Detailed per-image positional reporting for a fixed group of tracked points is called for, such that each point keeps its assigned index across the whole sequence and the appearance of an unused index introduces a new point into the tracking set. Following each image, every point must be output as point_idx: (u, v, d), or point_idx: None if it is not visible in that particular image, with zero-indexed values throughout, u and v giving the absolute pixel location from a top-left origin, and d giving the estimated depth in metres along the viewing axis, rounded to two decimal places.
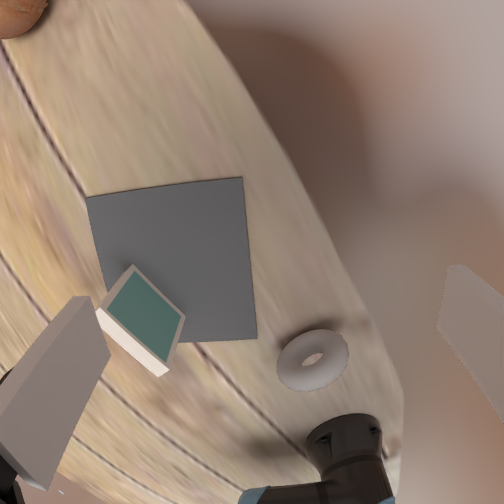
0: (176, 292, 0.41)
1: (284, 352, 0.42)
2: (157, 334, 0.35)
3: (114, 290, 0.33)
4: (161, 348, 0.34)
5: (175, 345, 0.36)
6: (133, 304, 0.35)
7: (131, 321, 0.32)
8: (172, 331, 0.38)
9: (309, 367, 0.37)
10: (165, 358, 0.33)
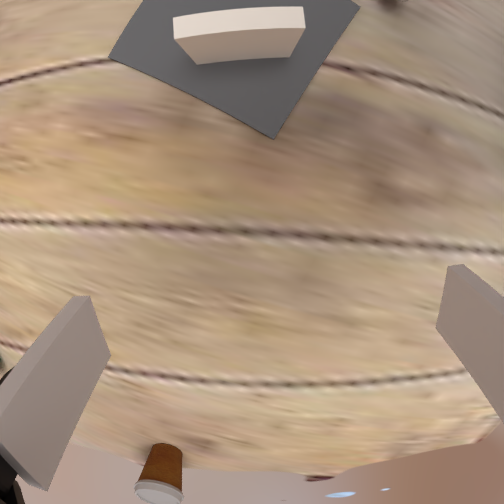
0: None
1: None
2: None
3: None
4: None
5: None
6: None
7: None
8: None
9: None
10: None
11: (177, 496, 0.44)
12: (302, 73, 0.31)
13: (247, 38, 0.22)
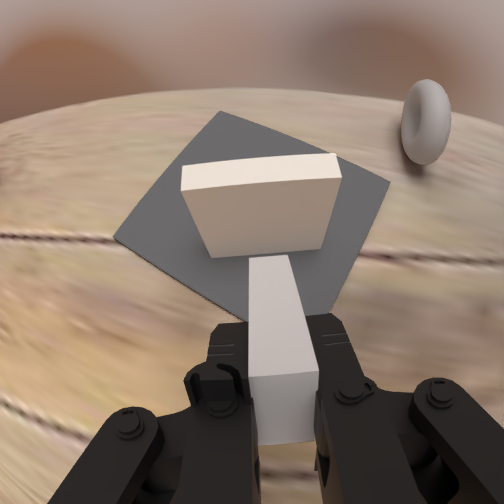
0: None
1: (411, 147, 0.30)
2: None
3: None
4: None
5: None
6: None
7: None
8: None
9: (420, 100, 0.27)
10: None
11: None
12: (337, 267, 0.28)
13: (271, 203, 0.22)
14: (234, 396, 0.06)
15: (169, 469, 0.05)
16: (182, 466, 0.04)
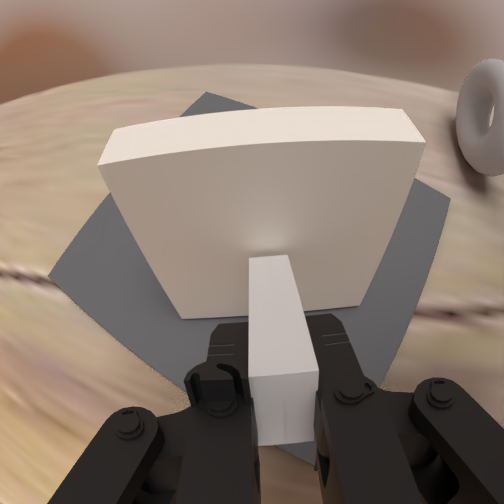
0: None
1: (478, 151, 0.19)
2: None
3: None
4: None
5: None
6: None
7: None
8: None
9: (492, 85, 0.16)
10: None
11: None
12: (382, 338, 0.17)
13: (285, 205, 0.11)
14: (234, 396, 0.06)
15: (169, 469, 0.05)
16: (182, 466, 0.04)
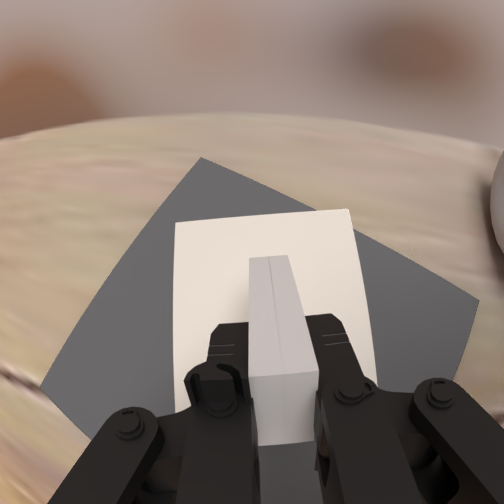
0: None
1: None
2: None
3: None
4: None
5: None
6: None
7: None
8: None
9: None
10: None
11: None
12: None
13: (277, 255, 0.17)
14: (234, 396, 0.06)
15: (169, 469, 0.05)
16: (182, 466, 0.04)
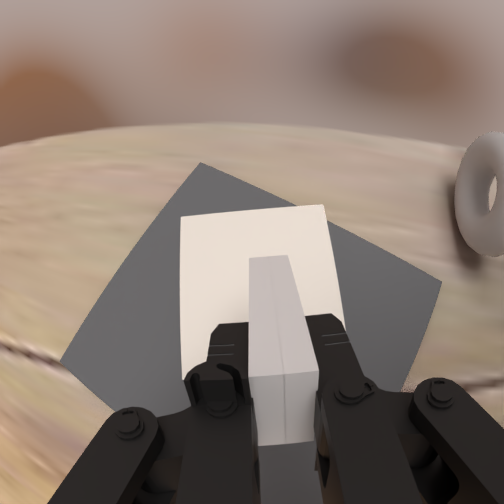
0: None
1: (474, 234, 0.20)
2: None
3: None
4: None
5: None
6: None
7: None
8: None
9: (497, 169, 0.17)
10: None
11: None
12: None
13: (264, 242, 0.21)
14: (234, 396, 0.06)
15: (168, 469, 0.05)
16: (182, 466, 0.04)
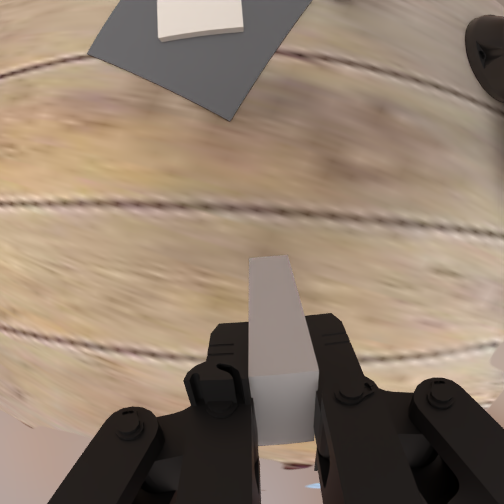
0: None
1: None
2: None
3: None
4: None
5: None
6: None
7: None
8: None
9: None
10: None
11: None
12: (256, 61, 0.34)
13: None
14: (234, 396, 0.06)
15: (169, 469, 0.05)
16: (182, 466, 0.04)
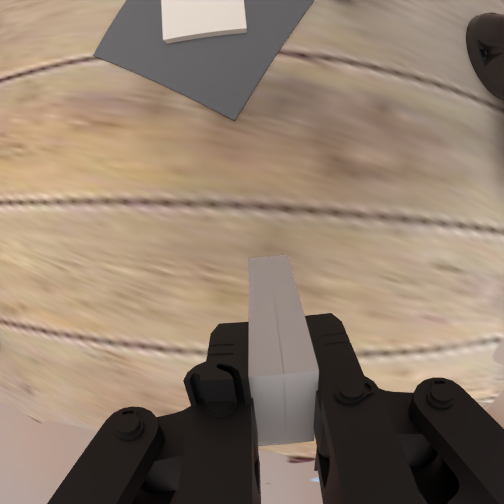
0: None
1: None
2: None
3: None
4: None
5: None
6: None
7: None
8: None
9: None
10: None
11: None
12: (259, 61, 0.34)
13: None
14: (234, 396, 0.06)
15: (169, 469, 0.05)
16: (182, 466, 0.04)
